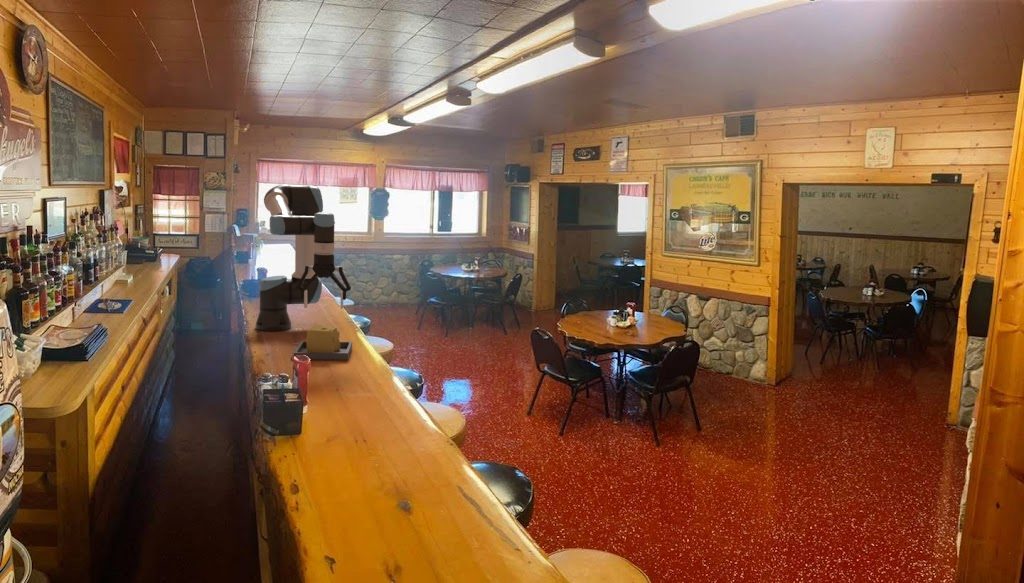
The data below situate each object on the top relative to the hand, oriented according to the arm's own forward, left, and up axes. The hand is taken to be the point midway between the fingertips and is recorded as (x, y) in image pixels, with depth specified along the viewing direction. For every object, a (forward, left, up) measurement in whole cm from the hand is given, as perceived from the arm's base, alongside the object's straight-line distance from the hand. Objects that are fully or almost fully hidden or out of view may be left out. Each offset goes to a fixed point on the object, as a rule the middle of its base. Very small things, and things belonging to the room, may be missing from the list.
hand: (323, 307), depth 251 cm
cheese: (0, 0, -18) cm, 18 cm away
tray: (0, 0, -19) cm, 19 cm away
